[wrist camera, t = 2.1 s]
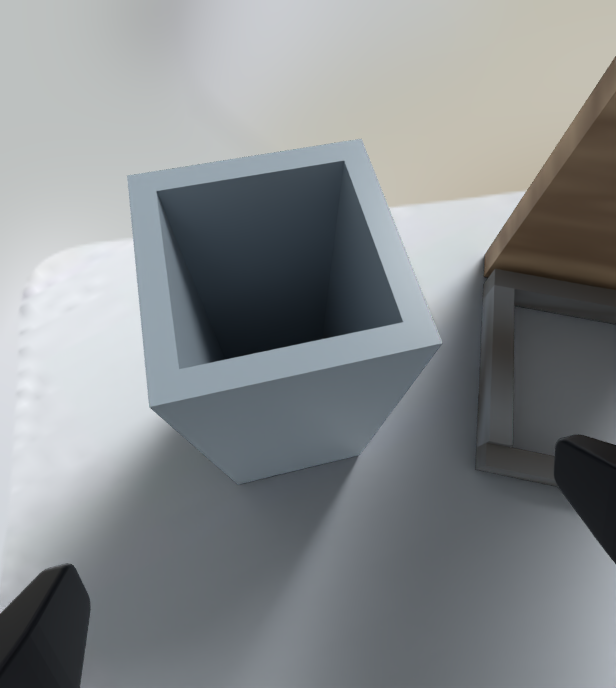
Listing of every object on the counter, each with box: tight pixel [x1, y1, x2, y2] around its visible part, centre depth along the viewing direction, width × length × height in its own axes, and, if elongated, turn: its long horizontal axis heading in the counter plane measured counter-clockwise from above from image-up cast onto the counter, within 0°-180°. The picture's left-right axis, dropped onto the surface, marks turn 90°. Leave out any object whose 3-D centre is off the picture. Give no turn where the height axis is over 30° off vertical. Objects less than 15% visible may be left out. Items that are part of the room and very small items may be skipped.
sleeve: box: [127, 139, 442, 485], centre depth 15 cm, size 6×6×12 cm
